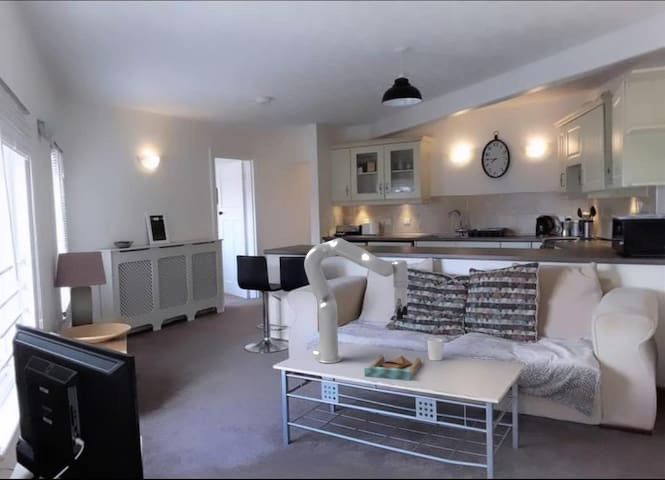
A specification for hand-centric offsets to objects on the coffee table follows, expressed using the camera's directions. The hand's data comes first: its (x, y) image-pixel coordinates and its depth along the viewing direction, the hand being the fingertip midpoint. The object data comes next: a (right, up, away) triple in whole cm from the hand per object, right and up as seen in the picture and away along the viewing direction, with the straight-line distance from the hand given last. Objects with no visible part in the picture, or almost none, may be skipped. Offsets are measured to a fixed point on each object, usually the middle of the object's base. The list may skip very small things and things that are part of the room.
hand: (402, 317), depth 254 cm
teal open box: (-7, -22, -18) cm, 29 cm away
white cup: (+17, -21, -3) cm, 27 cm away
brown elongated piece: (-4, -23, -14) cm, 27 cm away
